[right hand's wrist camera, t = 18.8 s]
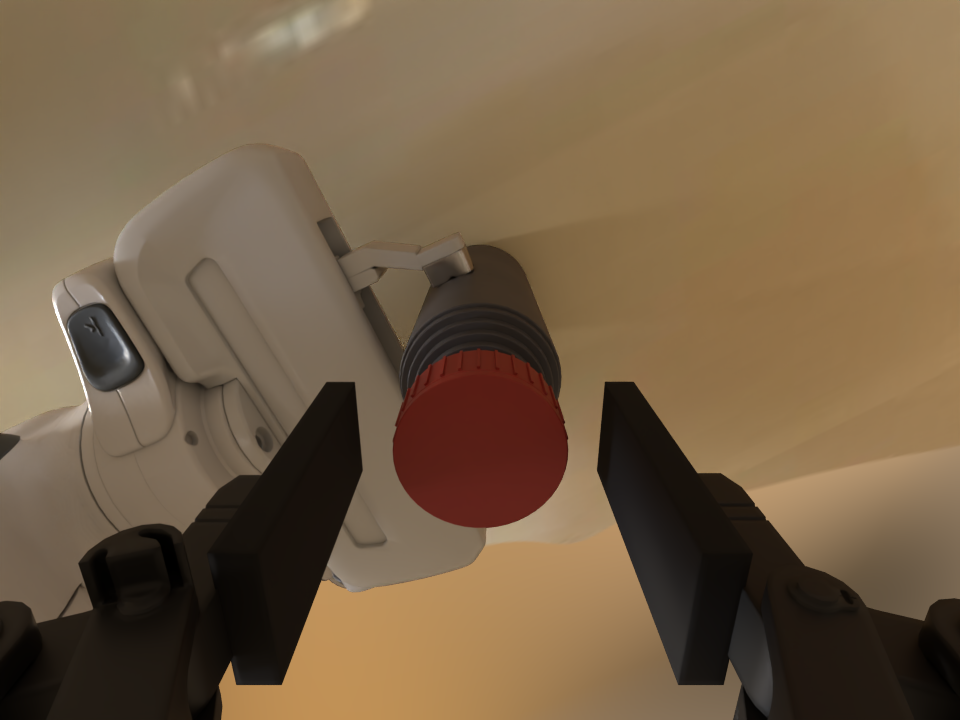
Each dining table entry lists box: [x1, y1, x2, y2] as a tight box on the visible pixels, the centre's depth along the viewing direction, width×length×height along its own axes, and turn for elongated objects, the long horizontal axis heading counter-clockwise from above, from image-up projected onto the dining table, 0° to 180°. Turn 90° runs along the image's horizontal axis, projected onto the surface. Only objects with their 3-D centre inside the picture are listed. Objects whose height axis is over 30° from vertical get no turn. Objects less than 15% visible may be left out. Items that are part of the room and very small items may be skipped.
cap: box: [393, 349, 568, 528], centre depth 14 cm, size 4×4×2 cm
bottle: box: [399, 245, 561, 401], centre depth 21 cm, size 5×5×16 cm
